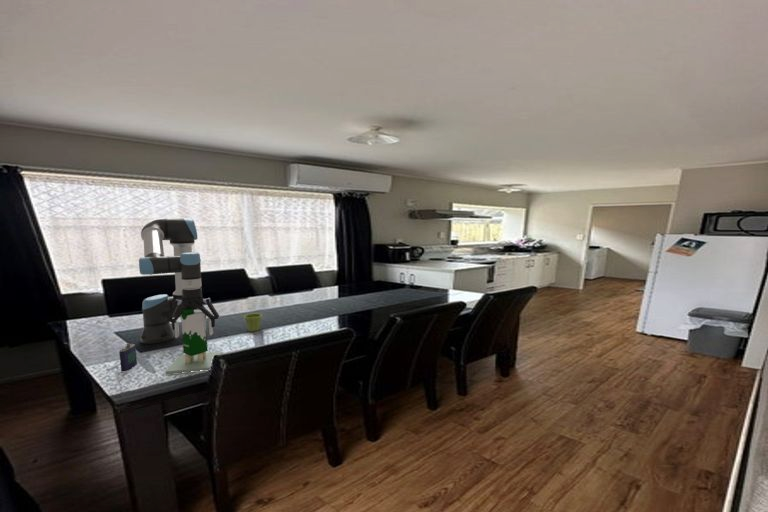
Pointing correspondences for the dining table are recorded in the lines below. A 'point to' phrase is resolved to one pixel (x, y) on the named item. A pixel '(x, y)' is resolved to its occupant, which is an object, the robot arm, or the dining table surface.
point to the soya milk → (194, 332)
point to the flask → (128, 357)
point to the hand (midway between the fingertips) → (194, 335)
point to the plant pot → (253, 321)
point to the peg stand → (192, 363)
